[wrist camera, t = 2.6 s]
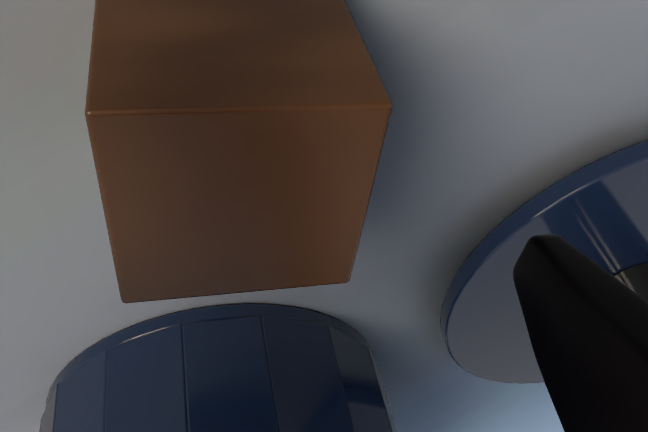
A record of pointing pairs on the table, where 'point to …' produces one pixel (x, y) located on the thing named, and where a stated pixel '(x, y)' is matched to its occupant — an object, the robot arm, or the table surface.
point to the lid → (539, 219)
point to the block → (232, 143)
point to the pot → (224, 376)
